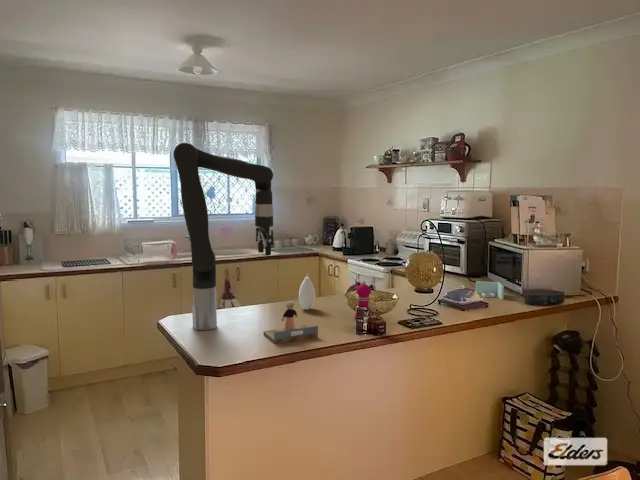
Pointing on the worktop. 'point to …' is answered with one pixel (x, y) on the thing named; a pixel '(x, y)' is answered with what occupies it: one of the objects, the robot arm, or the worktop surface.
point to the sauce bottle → (307, 294)
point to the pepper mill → (363, 296)
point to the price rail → (295, 332)
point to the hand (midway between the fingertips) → (264, 253)
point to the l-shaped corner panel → (490, 289)
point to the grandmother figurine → (289, 316)
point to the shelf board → (270, 336)
